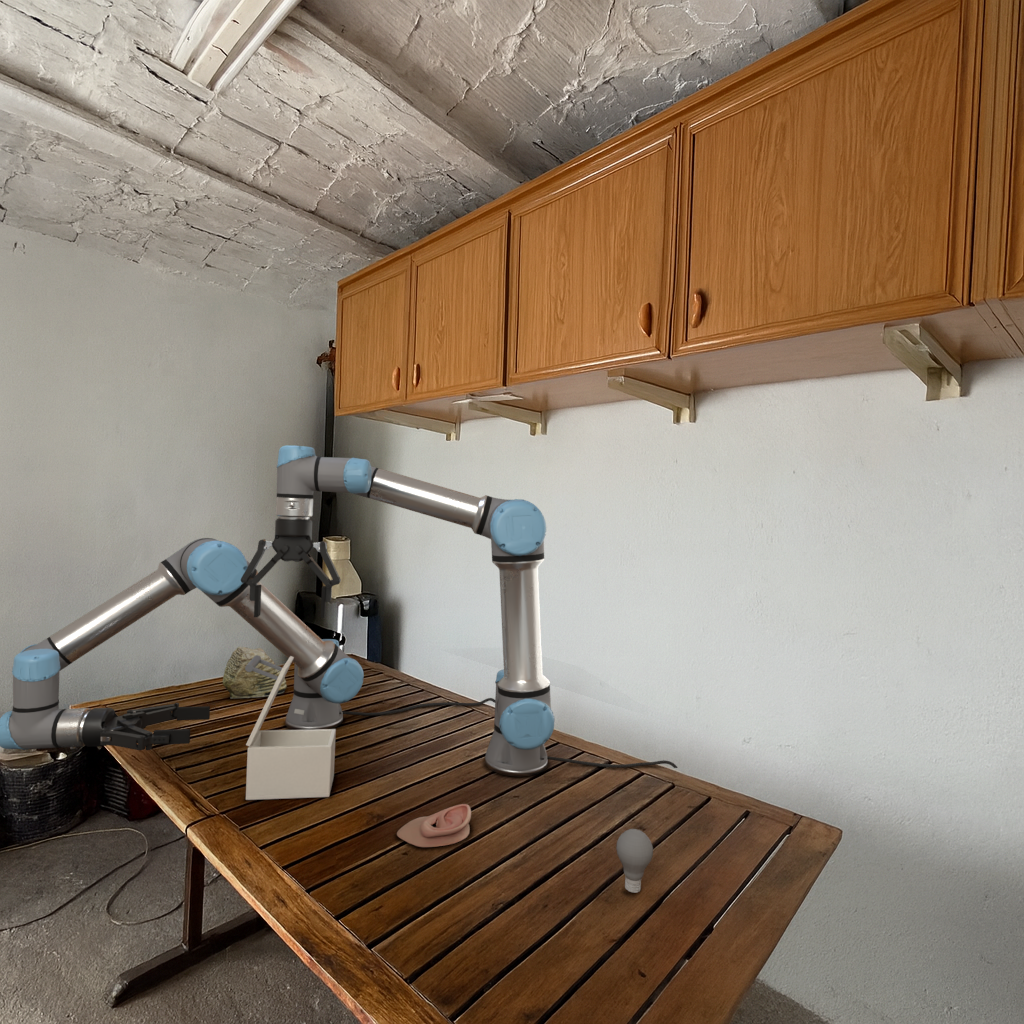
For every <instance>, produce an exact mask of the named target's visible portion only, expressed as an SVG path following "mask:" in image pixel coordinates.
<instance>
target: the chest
mask: <svg viewBox="0 0 1024 1024" xmlns="http://www.w3.org/2000/svg"><path fill="white" fill-rule="evenodd" d="M336 733H337V729H336V728H333V729H313V730H292V729H269V730H267V729H266V730H265V729H264V730H259V732H258V733H257V735H256V737H255V738H254V740H253V742H252V744H251V745H250V746H247V753H246V756H247V758H246V759H247V760H246V781H245V782H246V783H245V800H246V801H257V800H279V799H280V800H281V799H307V798H309V799H310V798H330V795H331V790H332V788H333V787H332V786H333V782H334V777H335V760H336V759H335V757H336V735H337V734H336Z"/></svg>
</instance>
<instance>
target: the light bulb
mask: <svg viewBox="0 0 1024 1024" xmlns="http://www.w3.org/2000/svg"><path fill="white" fill-rule="evenodd" d="M615 849H616V854H617V857H618V859H619V861H620V863H621V865H622V867H623V873H624V874H623V875H624V876H625V878H624V888H625V890H627V891H628V892H630V893H634V894H635V893H639V892H640V891H641V889H642V887H641V886H642V879H643V877H644V875H645V871H646V868H647V867H648V866H649V864H650V863H651V861H652V859H653V855H654V847H653V843H652V841H651V838H649V836H648V835H647V834H646V833H645V832H643V831H642V830H641V829H636V828H629V829H627V830H625V831H623V832H622V833H621V834H620V835H619V837H618V839H617V841H616V847H615Z"/></svg>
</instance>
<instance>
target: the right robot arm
mask: <svg viewBox="0 0 1024 1024" xmlns="http://www.w3.org/2000/svg"><path fill="white" fill-rule="evenodd" d="M315 492H325V493H326V492H327V493H328V492H329V493H330V492H331V493H344V494H346V493H347V494H352V495H356V496H359V497H362V498H366V499H370V500H374V501H378V502H381V503H384V504H387V505H390V506H395V507H397V508H401V509H404V510H408V511H412V512H415V513H419V514H421V515H424V516H427V517H432V518H435V519H438V520H442V521H445V522H448V523H452V524H455V525H459V526H463V527H466V528H469V529H471V530H472V532H473V533H474V534H475V535H478V536H482V537H484V538H487V539H489V540H490V544H491V547H490V548H491V562H492V563H493V565H494V566H496V567H497V568H498V571H499V572H498V573H499V592H500V593H499V595H500V615H501V616H500V617H501V639H502V657H503V661H502V663H503V669H500V670H498V671H497V672H496V677H495V678H496V679H495V682H494V684H495V698H494V699H495V703H494V720H493V722H494V723H493V724H494V725H493V732H492V736H491V738H490V741H489V743H488V746H487V749H486V751H485V756H484V764H485V766H486V767H487V768H488V769H489V770H490V771H492V772H494V773H496V774H499V775H503V776H508V777H518V778H519V777H521V778H522V777H531V776H535V775H538V774H541V773H543V772H544V771H545V770H547V768H548V762H549V761H548V760H550V761H557V762H564V763H570V764H575V765H576V764H577V765H583V766H590V767H600V768H612V769H623V768H625V769H626V768H636V767H644V766H645V767H647V766H657V765H663V764H664V765H669V766H671V767H673V768H674V769H678V766H677V765H676V764H675V763H674V762H672V761H670V760H664V759H663V760H656V761H646V762H643V761H642V762H635V763H634V762H633V763H625V764H624V763H623V764H613V763H611V764H610V763H600V762H591V761H585V760H584V761H583V760H577V759H570V758H563V757H557V756H550V755H548V752H547V749H546V746H545V744H546V743H547V742H548V741H549V740H550V738H551V736H552V735H553V733H554V729H555V720H556V719H555V715H554V712H553V710H552V703H551V701H552V700H551V699H552V698H551V681H550V679H548V678H547V676H545V675H544V673H543V653H542V631H541V630H542V629H541V628H542V627H541V605H540V583H539V567H540V565H542V563H543V562H544V561H545V537H546V535H547V534H546V533H547V522H546V519H545V516H544V515H543V512H541V510H540V509H539V508H538V506H537V505H535V504H534V503H532V502H530V501H529V500H526V499H521V498H520V499H519V498H518V499H517V498H515V499H505V498H497V497H493V496H490V495H483V496H481V497H478V496H475V495H472V494H468V493H465V492H461V491H458V490H454V489H451V488H447V487H444V486H442V485H437V484H434V483H431V482H428V481H423V480H420V479H417V478H414V477H410V476H407V475H403V474H400V473H397V472H394V471H390V470H386V469H383V468H379V467H376V466H372V464H371V461H369V460H368V459H366V458H359V457H332V456H331V457H330V456H328V457H327V456H319V455H316V450H315V448H314V447H311V446H306V445H305V446H304V445H290V444H289V445H283V446H281V447H280V448H279V450H278V455H277V464H276V498H275V516H277V517H278V518H276V519H275V525H274V537H273V538H274V539H273V540H267V539H265V538H263V539H260V540H259V541H258V543H257V548H256V549H257V550H256V552H255V554H254V555H253V557H252V558H251V560H250V562H249V563H250V564H249V566H248V567H247V569H246V571H245V573H244V574H243V576H242V578H241V582H242V583H246V584H248V585H249V586H250V597H249V599H250V601H254V617H259V616H260V611H261V585H257V583H258V582H261V580H262V579H263V578H265V576H267V574H268V573H269V572H270V571H271V570H272V569H273V568H274V566H276V565H277V563H279V561H280V560H281V561H283V562H295V563H300V562H302V561H303V562H305V564H307V565H308V566H309V568H310V569H311V571H312V572H313V573H314V574H315V576H317V578H318V579H319V581H321V582H322V583H323V586H322V587H321V597H320V619H324V618H326V615H327V603H330V602H331V601H332V596H333V587H334V586H337V585H339V584H340V583H341V582H342V579H341V577H340V574H339V573H338V570H337V568H336V566H335V564H334V563H333V560H332V558H331V556H330V554H329V552H328V544H327V541H325V540H322V541H316V542H314V540H313V521H312V519H311V518H312V517H313V515H314V493H315ZM270 547H272V549H273V550H274V552H275V553H276V554H274V556H273V557H272V558H271V559H270V560H269V561H268V562H267V563H266V564H265V566H263V568H261V570H259V572H258V574H257V575H256V576H255V577H254V578H250V577H251V575H252V574H253V572H254V570H255V569H256V568H257V566H259V563H260V561H261V559H262V557H263V556H264V554H265V552H266V551H268V550H269V549H270ZM314 548H315V549H316V551H317V552H318V553H320V555H321V559H322V560H323V562H324V564H325V567H326V569H327V571H328V573H329V574H330V577H331V578H329V576H328V575H327V574H326V572H325V571H324V570H323V569H322V568H321V566H320V565H319V564H318V563H317V561H316V560H315V559H314V557H313V556H312V555H311V554H310V553H311V552H312V551H313V549H314Z"/></svg>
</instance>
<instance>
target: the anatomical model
mask: <svg viewBox="0 0 1024 1024" xmlns="http://www.w3.org/2000/svg"><path fill="white" fill-rule="evenodd" d="M471 819H472V809H471V806H470V805H469V804H468V803H462V804H461V803H460V804H456V805H452V806H450V807H447V808H445V809H442V810H439V811H437V812H436V813H433V814H431V815H428V816H426V815H425V816H420V817H417V818H414V819H412V820H410V821H408V822H407V823H405V824H404V825H402V826H401V827H400V828H399V829H398V830H397V832H396V836H397V837H398V838H399V839H401V840H402V841H403V842H406V843H408V844H409V845H413V846H415V847H419V848H435V847H442V846H443V847H444V846H448V845H449V846H450V845H453V844H456V843H458V842H461V841H463V840H465V839H466V838H468V836H469V835H470V832H471V831H470V830H471V829H470V828H471V827H470V824H469V823H470V821H471Z"/></svg>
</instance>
